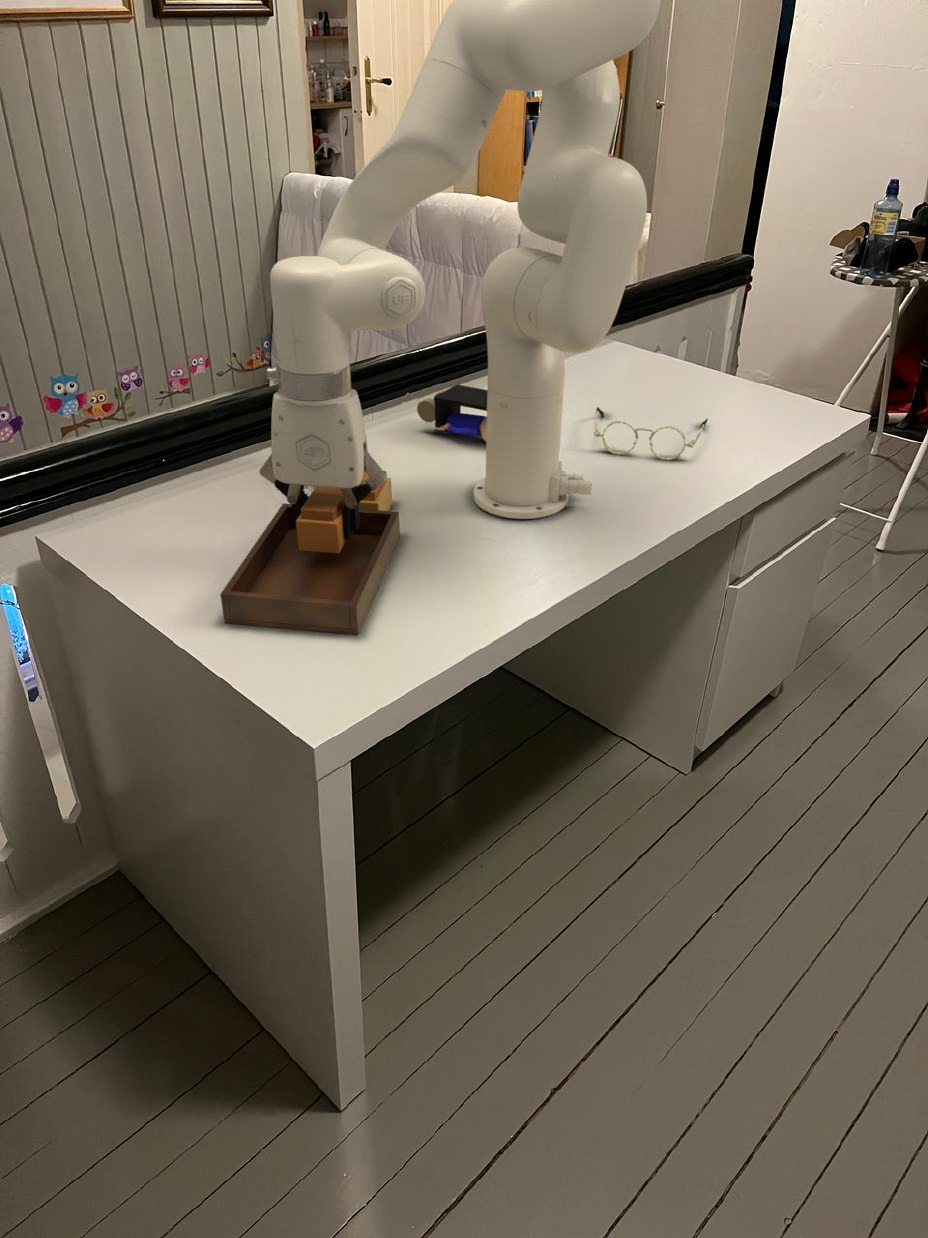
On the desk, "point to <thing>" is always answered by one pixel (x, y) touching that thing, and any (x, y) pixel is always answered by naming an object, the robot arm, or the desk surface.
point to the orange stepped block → (322, 521)
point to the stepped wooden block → (377, 496)
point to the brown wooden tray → (311, 577)
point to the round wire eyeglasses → (649, 437)
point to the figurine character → (456, 411)
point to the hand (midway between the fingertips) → (327, 530)
